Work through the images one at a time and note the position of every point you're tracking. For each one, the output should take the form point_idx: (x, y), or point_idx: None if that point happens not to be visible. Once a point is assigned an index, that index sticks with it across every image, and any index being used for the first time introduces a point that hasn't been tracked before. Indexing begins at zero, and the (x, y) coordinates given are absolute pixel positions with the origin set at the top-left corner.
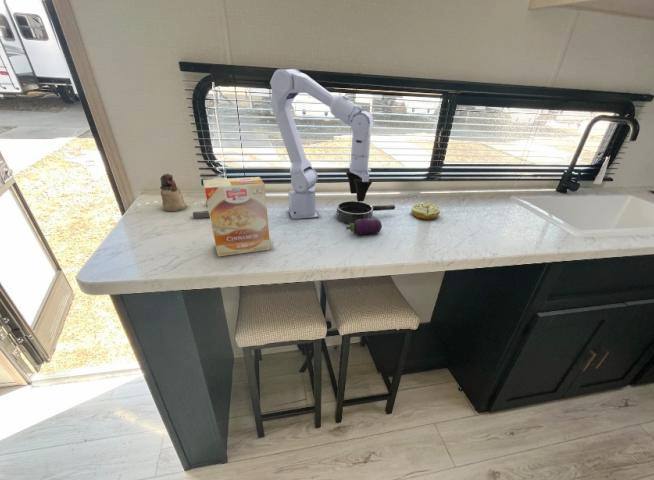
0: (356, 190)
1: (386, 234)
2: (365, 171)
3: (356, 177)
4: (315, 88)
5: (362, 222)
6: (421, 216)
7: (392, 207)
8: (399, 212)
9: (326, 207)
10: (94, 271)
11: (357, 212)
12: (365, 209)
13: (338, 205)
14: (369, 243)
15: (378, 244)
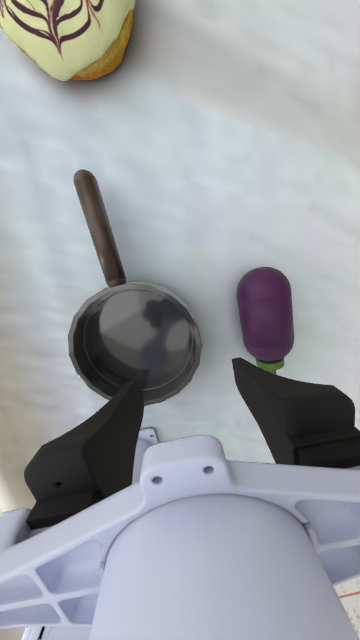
0: (261, 426)
1: (265, 249)
2: (305, 518)
3: (114, 454)
4: None
5: (291, 340)
6: (126, 38)
7: (97, 187)
8: (60, 151)
9: (72, 408)
10: None
11: (106, 325)
12: (101, 302)
13: None
14: (316, 309)
15: (326, 285)
